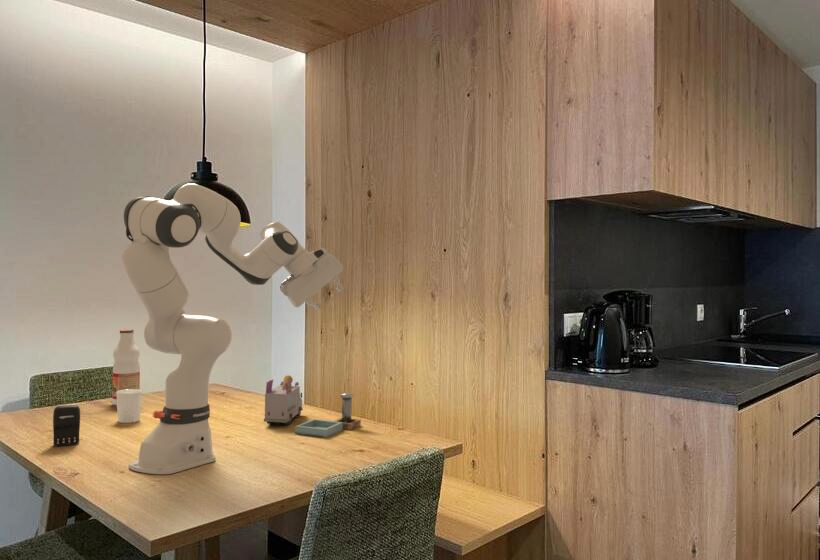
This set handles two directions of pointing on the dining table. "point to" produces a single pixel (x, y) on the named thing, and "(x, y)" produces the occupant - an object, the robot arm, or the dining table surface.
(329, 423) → the tray
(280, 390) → the toy vehicle
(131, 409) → the white cup
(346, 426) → the collar
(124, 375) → the fruit juice
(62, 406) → the battery charger
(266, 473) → the dining table surface
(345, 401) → the pin
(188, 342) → the robot arm
